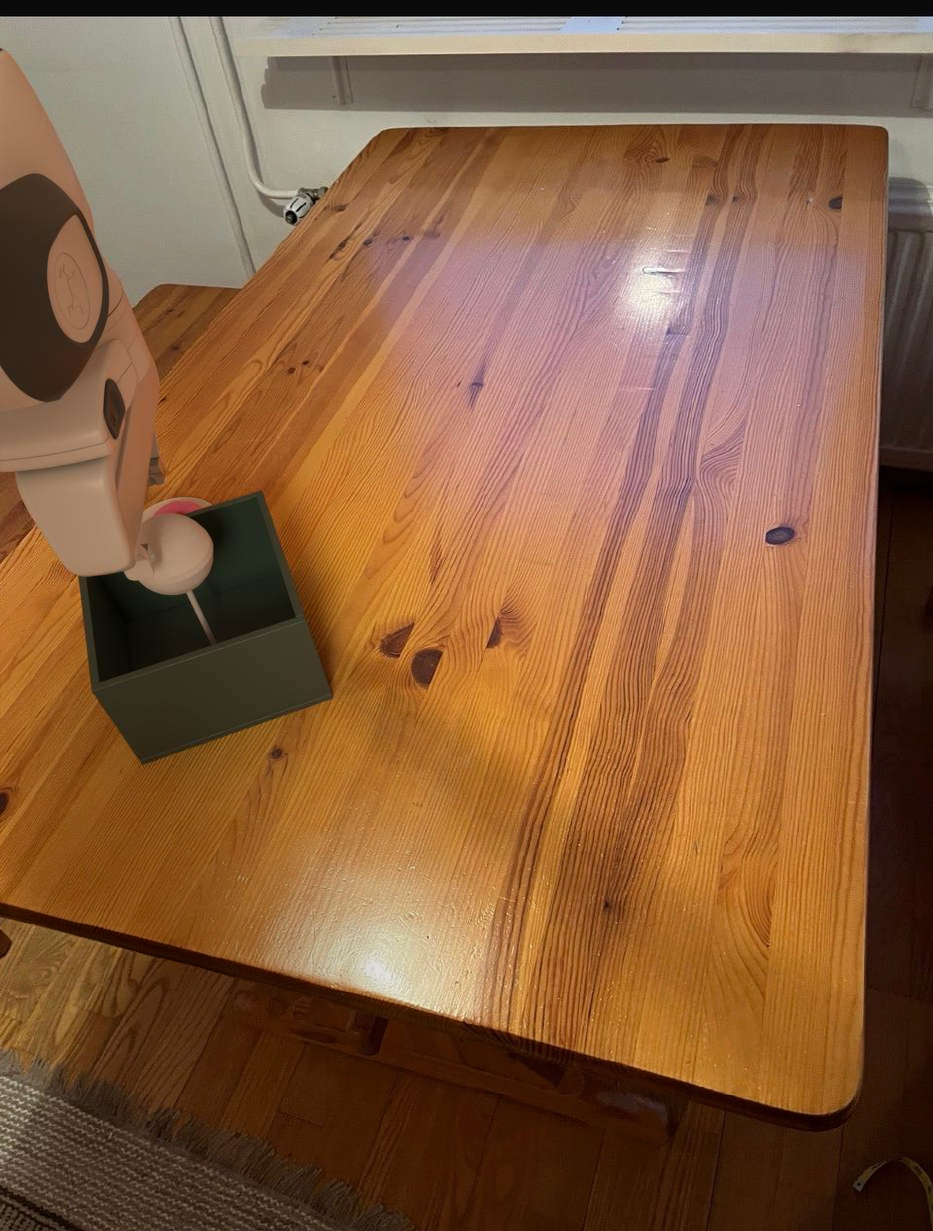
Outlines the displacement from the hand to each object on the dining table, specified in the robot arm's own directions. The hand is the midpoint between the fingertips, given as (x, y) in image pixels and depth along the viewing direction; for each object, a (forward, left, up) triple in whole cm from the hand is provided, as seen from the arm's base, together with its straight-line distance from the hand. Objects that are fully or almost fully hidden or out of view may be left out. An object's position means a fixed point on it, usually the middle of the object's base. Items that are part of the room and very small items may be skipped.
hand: (149, 523), depth 65 cm
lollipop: (0, 0, -15) cm, 15 cm away
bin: (0, 0, -16) cm, 16 cm away
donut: (+11, +13, -16) cm, 23 cm away
